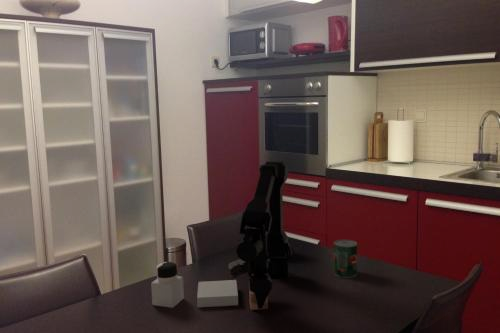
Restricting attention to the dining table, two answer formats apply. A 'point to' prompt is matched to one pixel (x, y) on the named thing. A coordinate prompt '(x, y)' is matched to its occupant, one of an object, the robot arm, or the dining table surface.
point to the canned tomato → (345, 258)
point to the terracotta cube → (254, 303)
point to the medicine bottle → (167, 286)
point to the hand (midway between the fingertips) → (258, 301)
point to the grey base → (217, 293)
